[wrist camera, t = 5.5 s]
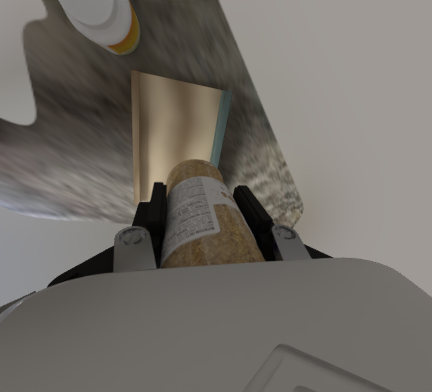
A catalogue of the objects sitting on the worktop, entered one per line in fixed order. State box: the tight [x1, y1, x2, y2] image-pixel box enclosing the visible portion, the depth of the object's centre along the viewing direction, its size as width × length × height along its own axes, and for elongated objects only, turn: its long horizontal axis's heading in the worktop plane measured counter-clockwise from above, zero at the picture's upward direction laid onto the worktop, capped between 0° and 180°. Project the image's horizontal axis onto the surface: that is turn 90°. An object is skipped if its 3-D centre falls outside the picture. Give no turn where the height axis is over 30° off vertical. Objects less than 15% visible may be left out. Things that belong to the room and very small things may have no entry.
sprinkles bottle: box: [160, 159, 266, 269], centre depth 9 cm, size 5×5×14 cm
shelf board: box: [131, 70, 233, 204], centre depth 28 cm, size 12×18×4 cm, turn 169°
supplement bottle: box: [58, 0, 140, 55], centre depth 17 cm, size 5×5×10 cm
